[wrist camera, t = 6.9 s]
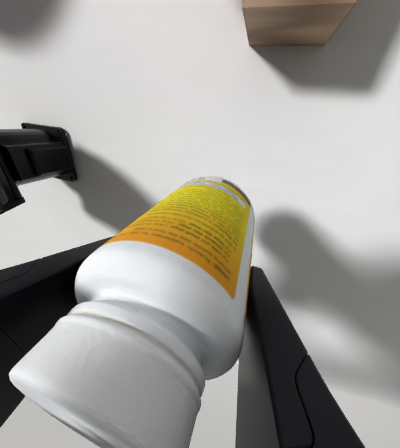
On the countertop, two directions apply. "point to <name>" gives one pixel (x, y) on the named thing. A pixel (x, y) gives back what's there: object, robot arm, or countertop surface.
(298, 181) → the countertop surface
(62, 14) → the countertop surface
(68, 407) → the supplement bottle
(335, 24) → the walnut block
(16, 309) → the robot arm
